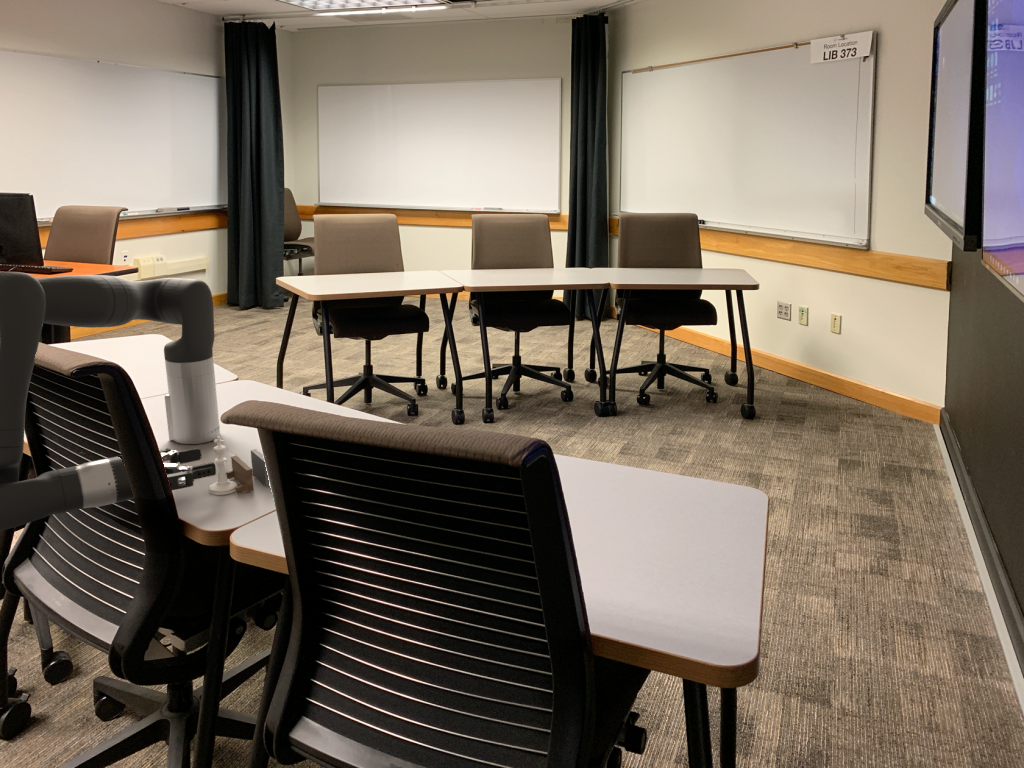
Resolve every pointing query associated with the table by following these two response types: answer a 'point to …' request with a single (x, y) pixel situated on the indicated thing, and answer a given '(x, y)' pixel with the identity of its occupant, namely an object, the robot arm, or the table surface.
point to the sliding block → (241, 475)
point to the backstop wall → (259, 467)
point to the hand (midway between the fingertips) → (207, 460)
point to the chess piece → (221, 473)
